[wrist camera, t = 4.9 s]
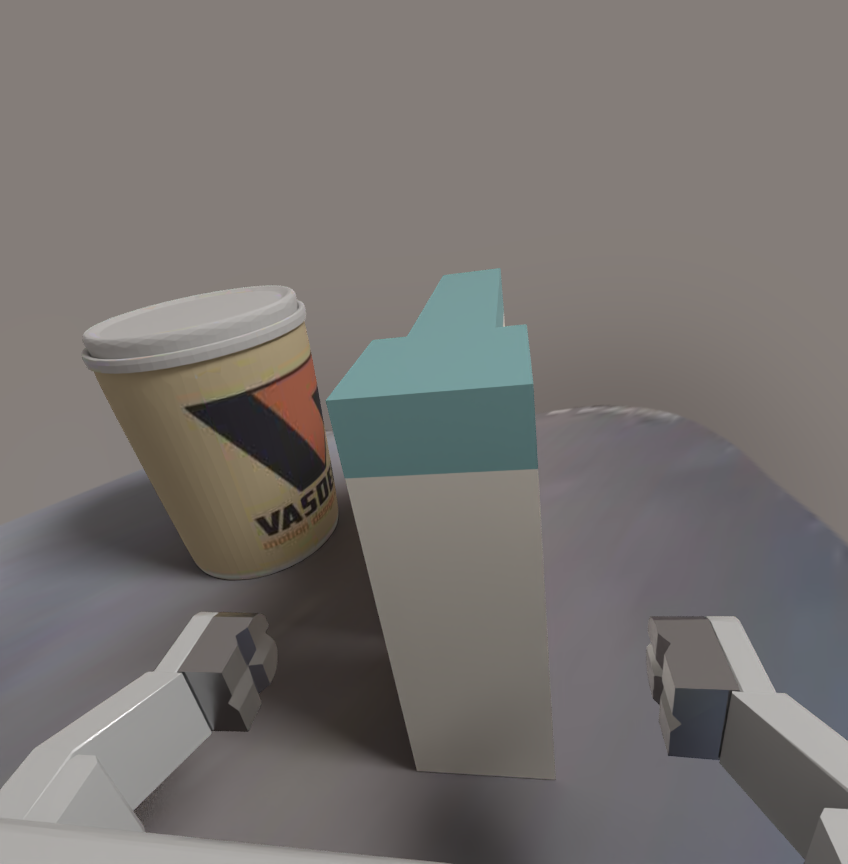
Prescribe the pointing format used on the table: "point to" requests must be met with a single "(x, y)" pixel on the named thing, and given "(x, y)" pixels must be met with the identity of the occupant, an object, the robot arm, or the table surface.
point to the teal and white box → (463, 304)
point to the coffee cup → (224, 423)
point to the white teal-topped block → (454, 542)
